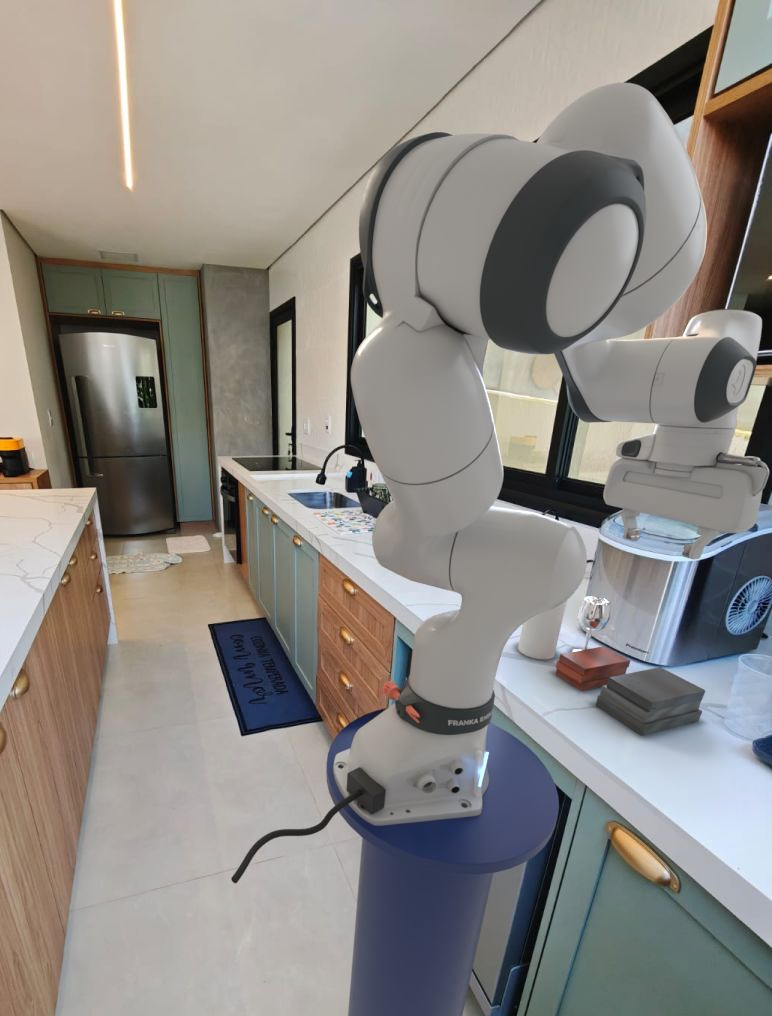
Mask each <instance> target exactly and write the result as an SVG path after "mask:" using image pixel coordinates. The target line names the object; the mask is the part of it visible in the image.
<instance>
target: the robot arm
mask: <svg viewBox="0 0 772 1016" xmlns="http://www.w3.org/2000/svg"><path fill="white" fill-rule="evenodd" d="M693 165H694V164H693V163H692V160H691V158H690V155H689V152H688V149H687V147H686V146H685V144H684V142H683V139H682V138H681V136H680V133H679V132H678V130H677V128H676V126H675V125H674V123H673V121H672V119H671V118H670V116H669V115H668V113H667V112H666V110H665V109H664V107H663V106H662V104H661V103H660V101H658V99H657V98H656V97H655V96H654V95H653V94H652V92H650V91H649V90H648V89H647V88H645V87H643V86H641V85H640V84H636V83H632V82H613V83H609V84H605V85H601V86H599V87H596V88H594V89H592V90H589V91H588V92H586V93H584V94H583V95H581V96H580V97H578V98H577V99H575V100H574V101H572V102H571V103H570V104H568V105H567V106H565V107H564V109H562V111H560V112H559V114H557V116H555V118H554V119H553V120H552V121H551V122H550V123H549V124H548V126H547V127H546V128H545V129H544V130H543V132H542V133H541V135H540V136H539V137H538V140H537V141H536V142H532V141H528V140H522V139H521V140H520V139H519V138H517V137H515V136H513V135H508V134H503V133H502V134H500V133H463V134H461V133H460V134H451V133H448V132H443V131H439V132H438V131H435V132H429V133H426V134H422V135H418V136H415V137H412V138H410V139H407V140H406V141H403V142H402V143H400V144H399V145H397V146H395V147H394V148H392V149H391V150H390V151H389V152H388V153H386V154H385V155H384V156H383V157H382V158H381V159H380V161H379V162H378V163H377V164H376V166H375V167H374V169H373V171H372V173H371V174H370V177H369V178H368V181H367V183H366V185H365V189H364V191H363V195H362V199H361V204H360V210H359V219H358V243H359V252H360V253H359V254H360V258H361V262H362V263H361V264H362V266H363V276H362V277H363V279H362V294H363V297H364V300H365V302H366V304H367V305H368V306H369V308H370V309H371V310H372V311H373V313H375V314H376V315H377V316H378V317H379V318H381V320H380V321H379V323H378V325H376V326H375V327H374V328H373V329H372V330H371V331H370V332H369V333H368V334H367V335H366V336H365V338H364V339H363V340H362V342H361V343H360V345H359V346H358V348H357V350H356V352H355V354H354V357H353V359H352V364H351V367H350V385H351V390H352V395H353V400H354V405H355V408H356V412H357V416H358V420H359V423H360V427H361V430H362V433H363V435H364V438H365V441H366V443H367V447H368V448H369V451H370V453H371V456H372V458H373V460H374V462H375V465H376V467H377V469H378V470H379V473H380V475H381V477H382V479H383V481H384V483H385V485H386V487H387V490H388V492H389V495H390V497H391V499H392V500H391V501H390V502H389V503H387V504H386V505H385V506H384V508H383V509H382V510H381V511H380V513H379V514H378V515H377V518H376V520H375V522H374V524H373V529H372V534H371V545H372V550H373V553H374V556H375V559H376V561H377V563H378V564H379V565H380V566H381V567H382V568H384V569H386V570H388V571H390V572H392V573H394V574H395V575H397V576H400V577H402V578H405V579H406V580H409V581H411V582H414V583H418V584H422V585H426V586H429V587H434V588H437V589H441V590H445V591H450V592H452V593H456V594H459V595H460V597H461V602H460V607H459V609H455V610H449V611H444V612H441V613H437V614H434V615H432V616H430V617H428V618H426V619H425V620H424V621H422V622H421V624H420V625H419V626H418V628H417V630H416V631H415V632H414V633H415V634H414V636H413V641H412V642H413V643H412V650H411V651H412V653H411V660H410V661H411V662H410V670H409V675H408V676H407V678H406V679H405V682H404V683H403V685H402V688H400V687H399V686H398V685H397V684H396V683H395V682H394V680H393V681H392V680H388V681H386V682H384V684H383V685H382V693H384V694H385V695H386V696H387V698H388V699H389V700H391V701H394V700H395V701H394V703H393V704H391V705H390V706H388V707H386V708H387V709H386V710H385V711H383V712H382V713H381V714H379V715H378V716H377V717H375V718H374V719H372V720H371V721H370V722H368V723H367V724H365V725H364V726H363V727H361V728H360V729H359V730H358V731H357V732H356V734H355V736H354V738H353V741H352V745H351V748H350V749H347V750H345V751H342V752H340V753H338V754H337V755H336V756H335V759H334V765H333V773H334V777H335V781H336V783H337V786H338V788H339V790H340V792H341V794H342V795H343V797H344V799H343V800H342V801H341V802H339V803H338V804H337V805H334V806H333V807H331V808H330V810H329V811H328V812H327V813H326V814H325V816H324V818H323V819H322V820H321V821H320V822H319V823H318V824H316V825H313V826H311V827H305V828H283V829H276V830H273V831H270V832H267V834H265V835H263V836H262V837H261V838H259V839H257V841H256V842H255V843H254V844H253V845H251V847H250V849H249V850H248V852H247V853H246V855H245V857H244V858H243V859H242V861H241V862H240V865H239V866H238V868H237V869H236V871H235V873H234V874H233V875H232V876H231V882H232V883H233V884H237V883H238V882H240V880H241V878H242V876H243V875H244V873H245V872H246V871H247V869H248V867H249V865H250V863H251V861H252V860H253V858H254V857H255V856H256V854H257V853H258V851H259V850H260V849H261V848H262V847H263V846H264V845H266V844H267V843H269V842H270V841H272V840H274V839H277V838H281V837H305V836H310V835H315V834H317V833H319V832H321V831H323V830H324V829H325V828H326V827H327V826H328V825H329V823H330V822H331V820H332V819H333V817H334V816H336V815H337V814H338V813H339V811H340V810H341V809H342V808H343V807H345V806H346V805H348V804H349V806H350V807H351V808H352V809H353V810H354V812H355V813H357V814H358V815H359V816H360V817H361V818H362V819H364V820H365V821H367V822H368V823H370V824H372V825H375V826H383V825H394V824H403V823H413V822H423V821H433V820H442V819H452V818H462V817H471V816H478V815H480V814H481V812H482V796H483V794H484V793H485V791H486V789H487V787H488V784H489V775H488V770H487V758H488V754H489V752H486V736H487V725H488V724H489V722H490V723H491V721H492V717H493V713H494V705H495V700H496V699H495V697H496V693H495V690H494V686H495V680H496V677H497V672H498V669H499V668H498V667H499V664H500V661H501V657H502V654H503V652H504V648H505V646H506V644H507V642H508V641H509V640H510V638H511V636H512V635H513V634H514V633H515V632H516V631H517V630H518V629H519V628H520V627H522V625H523V623H524V622H526V621H527V620H529V619H530V618H532V617H534V616H535V615H538V614H540V613H542V612H545V611H548V610H551V609H553V608H555V607H557V606H559V605H561V604H562V603H564V602H565V601H566V600H567V601H568V600H569V599H570V598H571V597H572V596H573V595H575V593H576V592H577V591H578V589H579V587H580V586H581V584H582V582H583V579H584V577H585V574H586V570H587V565H588V556H587V549H586V545H585V543H584V540H583V537H582V535H581V534H580V532H579V531H578V530H577V528H576V527H575V526H573V525H571V524H568V523H565V522H563V521H560V520H558V519H555V518H552V517H550V516H546V515H543V514H541V513H537V512H534V511H527V510H519V509H514V508H513V509H512V508H506V507H499V506H493V505H494V504H495V503H496V501H497V499H498V497H499V495H500V494H501V493H500V492H501V490H502V486H503V483H504V475H505V474H504V465H503V460H502V456H501V450H500V445H499V441H498V435H497V430H496V426H495V425H496V424H495V421H494V416H493V411H492V405H491V402H490V399H489V395H488V391H487V388H486V385H485V382H484V380H483V378H484V361H485V353H486V349H487V344H488V341H492V343H494V344H495V346H497V347H499V348H501V349H503V350H505V351H506V350H507V351H511V352H515V353H522V354H528V355H540V356H541V355H553V354H554V358H555V360H556V362H557V364H558V366H559V369H560V372H561V374H562V376H563V378H564V381H565V384H566V395H567V400H568V405H569V406H570V409H571V410H572V411H573V413H574V414H575V415H576V416H577V418H578V419H579V420H580V421H582V422H584V423H613V422H619V423H639V424H655V427H654V431H653V433H648V434H645V435H641V436H638V437H633V438H629V439H626V440H621V441H620V442H618V444H617V445H616V448H615V455H616V457H618V458H617V459H615V460H614V461H613V462H612V463H611V466H610V467H609V471H608V473H607V477H606V481H605V485H604V489H603V495H602V496H603V501H604V503H605V504H606V505H607V506H612V507H616V508H620V509H622V511H621V514H620V516H621V521H622V524H623V527H624V531H623V535H622V539H623V540H625V541H628V542H629V541H630V542H638V541H639V540H640V538H641V534H642V531H643V529H641V528H639V527H638V523H637V517H640V514H641V513H642V514H646V515H650V516H655V517H658V518H662V519H666V520H671V521H675V522H678V523H679V522H680V523H684V524H688V525H692V526H696V527H698V528H697V531H696V535H698V536H699V537H697V538H696V539H695V540H694V542H692V543H685V544H684V546H683V551H682V552H681V557H683V558H686V559H690V560H699V559H700V558H701V557H702V556H703V555H702V554H703V552H704V549H705V547H706V546H708V545H709V544H710V543H711V542H712V541H714V539H716V538H717V537H718V536H719V533H720V532H722V533H727V534H740V533H745V532H747V531H748V530H750V529H752V528H753V527H754V526H755V524H756V522H757V520H758V516H759V515H758V514H759V511H760V507H761V502H762V496H763V490H764V489H765V487H766V484H767V482H768V479H769V476H770V469H769V467H768V465H767V464H766V463H765V462H763V461H762V460H761V458H760V457H758V456H752V455H751V456H750V455H747V456H745V455H744V456H743V455H738V454H735V453H734V454H732V453H729V451H730V448H731V444H732V441H733V438H734V437H735V436H734V435H735V432H736V429H737V426H738V425H737V424H738V421H737V420H738V419H737V417H738V416H737V415H738V411H739V407H740V406H741V405H743V403H744V402H746V399H747V397H748V394H749V392H750V388H751V385H752V382H753V379H754V376H755V373H756V369H757V359H758V355H759V349H760V344H761V343H760V342H761V338H762V329H763V319H762V317H761V316H760V315H758V314H756V313H755V312H753V311H751V310H744V309H738V308H719V309H711V310H708V311H704V312H701V313H699V314H696V315H695V316H693V317H691V319H690V320H689V321H688V324H687V326H686V328H685V330H684V331H683V334H682V336H677V337H676V336H674V337H657V338H639V339H618V338H623V337H627V336H630V335H632V334H634V333H637V332H639V331H641V330H643V329H645V328H646V327H648V326H650V325H652V324H654V323H655V322H656V321H657V320H659V319H660V318H661V317H662V316H664V315H665V314H666V313H667V312H668V311H669V310H671V308H672V307H673V306H674V305H675V304H677V302H678V301H679V300H680V299H681V298H682V296H683V295H685V293H686V291H688V288H689V287H690V286H691V285H692V283H693V281H694V279H695V277H697V275H698V272H699V270H700V268H701V266H702V263H703V261H704V257H705V253H706V248H707V239H708V223H707V222H708V221H707V213H706V207H705V203H704V200H703V195H702V191H701V188H700V184H699V181H698V177H697V174H696V170H695V168H694V166H693ZM372 295H373V297H374V299H375V300H376V303H375V302H374V301H373V300H372V298H371V296H372ZM464 807H465V808H464ZM363 808H365V809H363Z"/></svg>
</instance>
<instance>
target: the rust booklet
mask: <svg viewBox="0 0 772 1016" xmlns="http://www.w3.org/2000/svg"><path fill="white" fill-rule="evenodd" d="M558 661H560V662H562V663H563V664H565V665H566V666H568V667H570V668H571V669H573V670H574V671H576V672H578V673H579V674H581V675H583V676H586V675H591V674H597V673H602V672H607V671H612V670H617V669H622V668H627V669H628V668H629V667H630V664H631V660H630V659H629V658H627V657H625V656H623V655H621V654H619V653H618V652H616V651H613V650H612V649H610V648H608V647H606V646H605V645H604V646H598V647H592V648H587V649H586V650H580V651H574V652H572V651H569V652H563V653H560V654H559V657H558Z"/></svg>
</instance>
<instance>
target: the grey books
mask: <svg viewBox="0 0 772 1016" xmlns="http://www.w3.org/2000/svg"><path fill="white" fill-rule="evenodd" d="M600 689H601V690H600V693H599V695H597V698H596V701H595V706H596V707H597V708H599V709H600V710H602V711H603V712H605V713H606V714H608V715H610V717H613V718H614V719H616V720H617V721H618V722H620V723H622V724H623V725H625V726H626V727H628V728H629V729H630V730H632V731H634V732H635V733H636V734H638V735H639V736H641V737H643V736H647V735H651V734H654V733H659V732H663V731H666V730H670V729H673V728H679V727H682V726H685V725H690V724H693V723H696V722H697V723H698V722H700V719H701V717H702V713H703V710H702V709H700V706H701V703H702V700H703V698H704V696H705V693H706V690H705V689H704V688H702V687H700V686H698V685H696V684H694V683H692V682H690V681H688V680H686V679H684V678H682V677H680V676H679V675H676V674H675V673H673V672H671V671H669V670H667V669H665V668H663V667H661V666H658V667H653V668H648V669H643V670H637V671H634V672H629V673H626V674H623V675H618V676H613V677H609V680H608V683H607V685H604V686H602V687H601V688H600Z"/></svg>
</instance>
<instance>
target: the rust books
mask: <svg viewBox="0 0 772 1016" xmlns="http://www.w3.org/2000/svg"><path fill="white" fill-rule="evenodd" d="M555 668H556V669H555V675H556V676H558V677H559V678H561V679H563V680H564V681H565V682H567V683H569V684H570V685H571V686H573V687H575V688H576V689H578V690H579V691H581V692H584V691H587V690H593V689H598V688H602V686H604V685H607V683H608V680H609V677H613V676H618V675H623V674H627V670H628V667H627V668H622V669H617V670H612V671H607V672H602V673H597V674H591V675H586V676H583V675H581V674H579V673H578V672H576V671H574V670H573V669H571V668H570V667H568V666H566V665H565V664H563V663H562V662H560V661H559V660H557V661H556V665H555Z"/></svg>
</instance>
